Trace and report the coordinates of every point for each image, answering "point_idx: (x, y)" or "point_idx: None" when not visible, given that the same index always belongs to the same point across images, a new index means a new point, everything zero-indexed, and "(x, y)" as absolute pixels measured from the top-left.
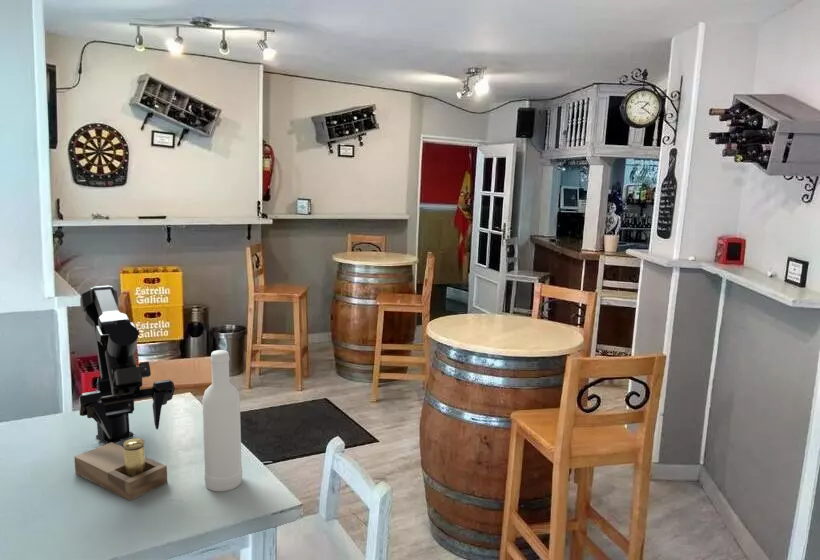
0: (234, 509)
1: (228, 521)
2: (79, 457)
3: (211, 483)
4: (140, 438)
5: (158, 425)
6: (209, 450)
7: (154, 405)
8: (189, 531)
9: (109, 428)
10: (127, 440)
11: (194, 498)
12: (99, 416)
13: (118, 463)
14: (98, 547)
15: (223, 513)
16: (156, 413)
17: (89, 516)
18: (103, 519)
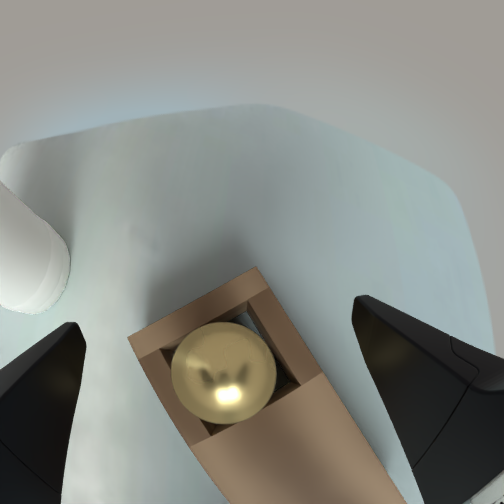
0: (66, 160)
1: (92, 129)
2: (396, 499)
3: (57, 234)
4: (185, 406)
5: (61, 327)
6: (5, 193)
7: (6, 461)
8: (157, 120)
9: (386, 316)
10: (253, 410)
11: (107, 228)
12: (495, 356)
13: (284, 430)
14: (317, 132)
15: (86, 153)
16: (21, 372)
17: (349, 246)
18: (317, 220)
